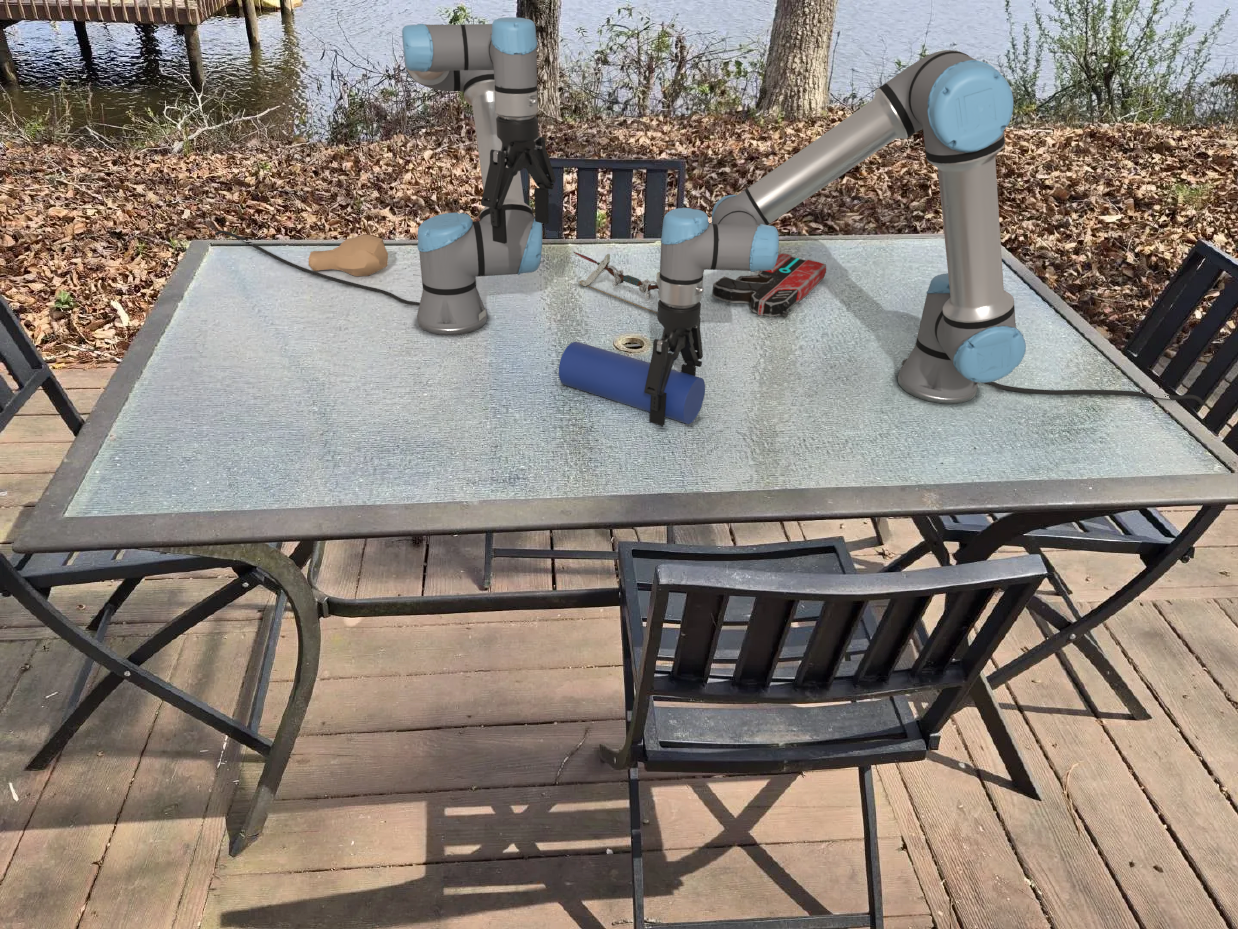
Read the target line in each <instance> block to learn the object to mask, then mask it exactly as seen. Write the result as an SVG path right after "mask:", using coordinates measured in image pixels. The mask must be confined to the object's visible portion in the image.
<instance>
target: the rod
mask: <svg viewBox="0 0 1238 929" xmlns="http://www.w3.org/2000/svg"><path fill="white" fill-rule="evenodd" d="M649 367H650V362H648V361H645V360H642V359H638V358H634V357H631V356H629V355H628V356H627V355H624V354H622V353H617V352H614V351H611V350H608V349H604V348H600V347H597V346H593V345H591V344H586V343H584V342H580V341H573V342H570V344H568V346H566V348H565V349H564V351H563V353H562V355H561V357H560V361H559V365H558V378H559V381H560V383H561V384H562V385H564V386H566V387H570V388H573V389H576V390H580V391H582V392H586V393H589V394H592V395H595V396H599V397H602V398H605V399H608V400H610V401H614V402H617V403H620V404H624V405H627V406H629V407H633V408H635V409H636V408H637V409H639V410H642V411H645V412H649V413H650V406H651V395H650V394H647V393H645V392H644V390H645V385H646V381H647V376H648V372H649ZM664 393H667V394H666V409H665V418H668V419H670V420H674V421H677V422H680V423H683V424H687V425H689V424H690V425H691V424H692V423H693V422H694V421H695V420H696V418H697V417H698V415H699V413H700V411H701V409H702V407H703V402H704V401H705V400H704V399H705V394H706V383H705V379H704V378H702V377H699V376H697V375H695V376H693V375H690V374H686V373H683V372H681V371H680V370H675V369H673V368H672V369H671V372H670V375H669V379H668V382H667V385H666V388H665V391H664Z"/></svg>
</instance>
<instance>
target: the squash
mask: <svg viewBox="0 0 1238 929" xmlns="http://www.w3.org/2000/svg"><path fill="white" fill-rule="evenodd" d="M388 263H389V253H388V251H387V248H386V246H385V242H384V239H382V238H381V237H378V236H374V235H372V234H366V233H363V234H361V235H358V236H355V237H349V238H346V239H345V240H344V241H342V242H341V243H340V245H339V246H336V247H335V248H333V249H327V250H313V251H310V253H309V256H308V267H310V270H311V271H314V272H319V271H323V270H335V271H342V272H343V273H345V274H347V275H348V274H349V275H351V276H353V277H369V276H371V275H374V274H375V273H377V272H379V271H381V270H384V269H385V268H386V267H388Z"/></svg>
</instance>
